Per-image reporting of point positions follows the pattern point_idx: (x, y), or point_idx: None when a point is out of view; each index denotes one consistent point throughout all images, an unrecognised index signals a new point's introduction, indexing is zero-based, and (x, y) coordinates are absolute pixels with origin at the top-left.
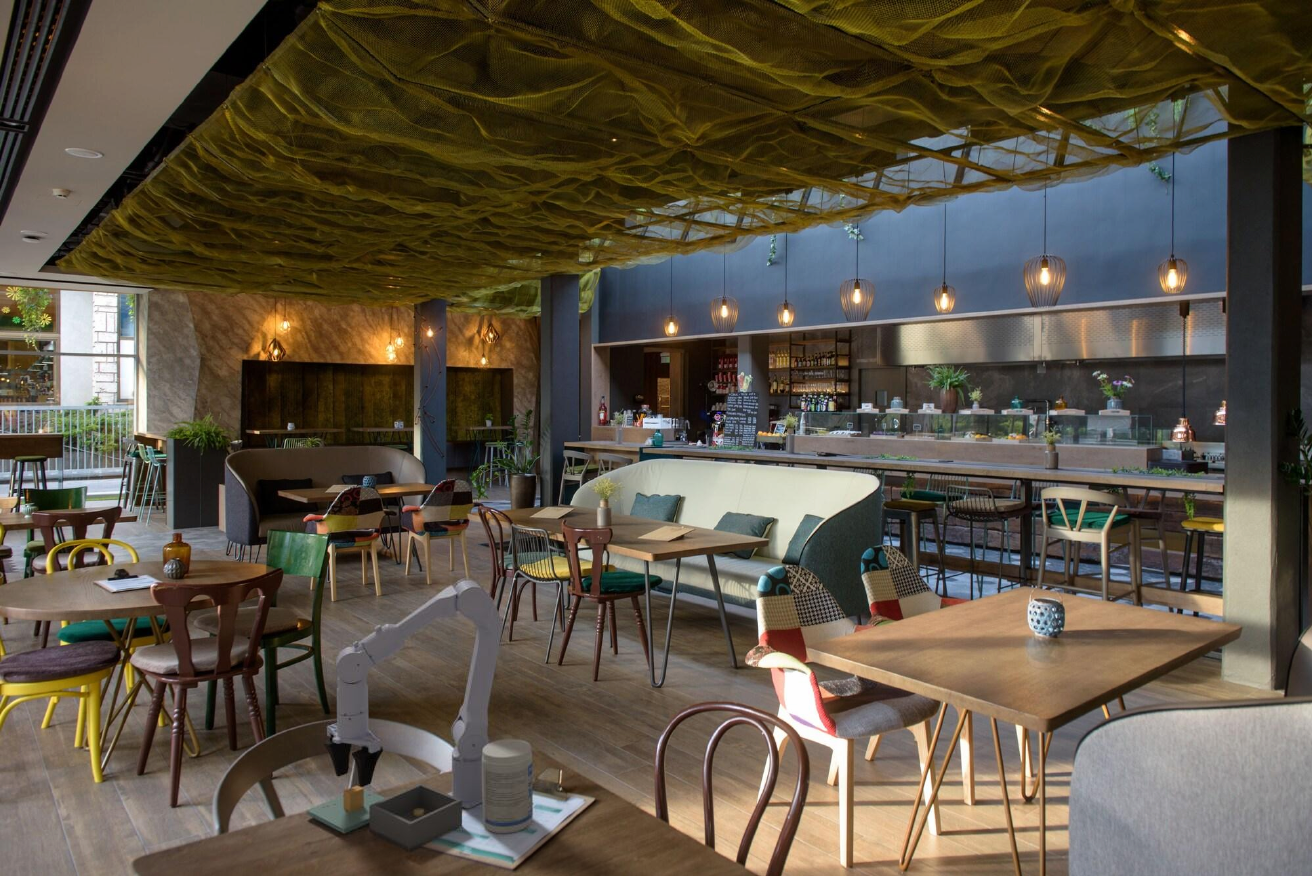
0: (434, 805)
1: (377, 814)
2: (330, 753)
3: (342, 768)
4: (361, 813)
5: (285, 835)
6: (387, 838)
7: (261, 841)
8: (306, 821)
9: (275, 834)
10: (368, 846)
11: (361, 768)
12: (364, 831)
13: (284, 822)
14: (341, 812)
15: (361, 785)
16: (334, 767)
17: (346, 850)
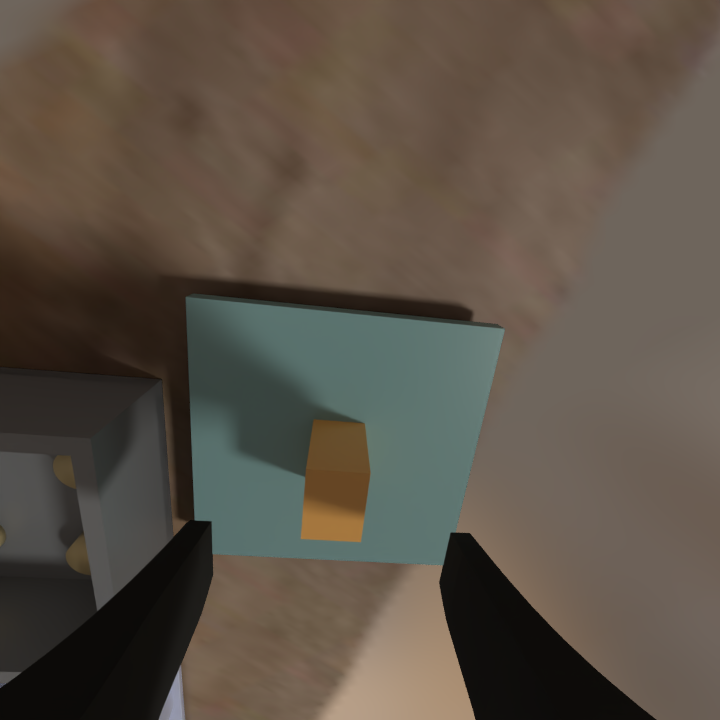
0: (53, 606)
1: (31, 418)
2: (597, 693)
3: (458, 595)
4: (258, 434)
5: (449, 157)
6: (24, 373)
7: (508, 40)
8: (468, 301)
9: (500, 136)
10: (47, 296)
11: (46, 656)
12: (184, 372)
13: (551, 242)
14: (342, 396)
15: (183, 526)
16: (499, 575)
17: (85, 218)
